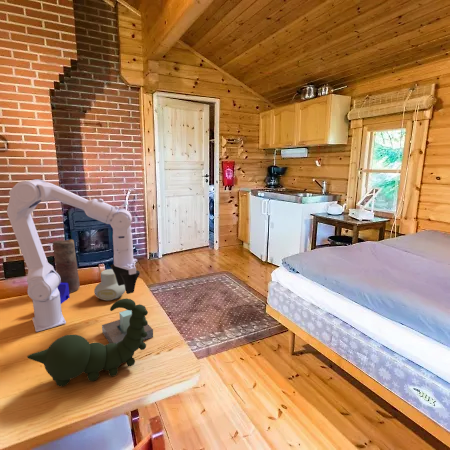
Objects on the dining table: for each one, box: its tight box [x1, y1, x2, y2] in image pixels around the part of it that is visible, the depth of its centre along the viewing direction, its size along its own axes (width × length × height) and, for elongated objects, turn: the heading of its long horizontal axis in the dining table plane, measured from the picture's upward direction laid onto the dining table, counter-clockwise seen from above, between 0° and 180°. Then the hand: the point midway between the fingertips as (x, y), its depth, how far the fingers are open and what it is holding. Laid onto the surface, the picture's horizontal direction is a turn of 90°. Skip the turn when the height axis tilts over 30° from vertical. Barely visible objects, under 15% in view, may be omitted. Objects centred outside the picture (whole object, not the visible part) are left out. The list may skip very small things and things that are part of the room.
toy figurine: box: [26, 298, 149, 388], centre depth 69 cm, size 9×19×25 cm
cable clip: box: [58, 283, 71, 305], centre depth 104 cm, size 12×4×6 cm, turn 173°
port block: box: [101, 319, 154, 344], centre depth 87 cm, size 11×11×2 cm
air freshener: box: [93, 268, 126, 302], centre depth 110 cm, size 11×8×10 cm
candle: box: [52, 238, 81, 294], centre depth 114 cm, size 8×7×20 cm
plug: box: [118, 309, 132, 333], centre depth 86 cm, size 3×3×7 cm
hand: (125, 288), depth 96 cm, fingers open, 7 cm apart
